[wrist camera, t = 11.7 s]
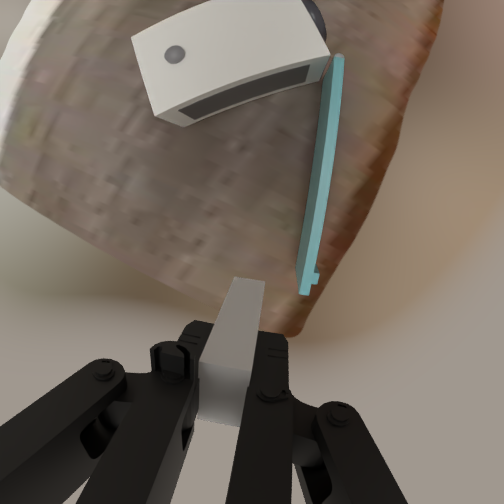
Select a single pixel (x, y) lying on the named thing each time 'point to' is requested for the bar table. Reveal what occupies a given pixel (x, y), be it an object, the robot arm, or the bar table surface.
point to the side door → (320, 175)
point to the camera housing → (229, 55)
